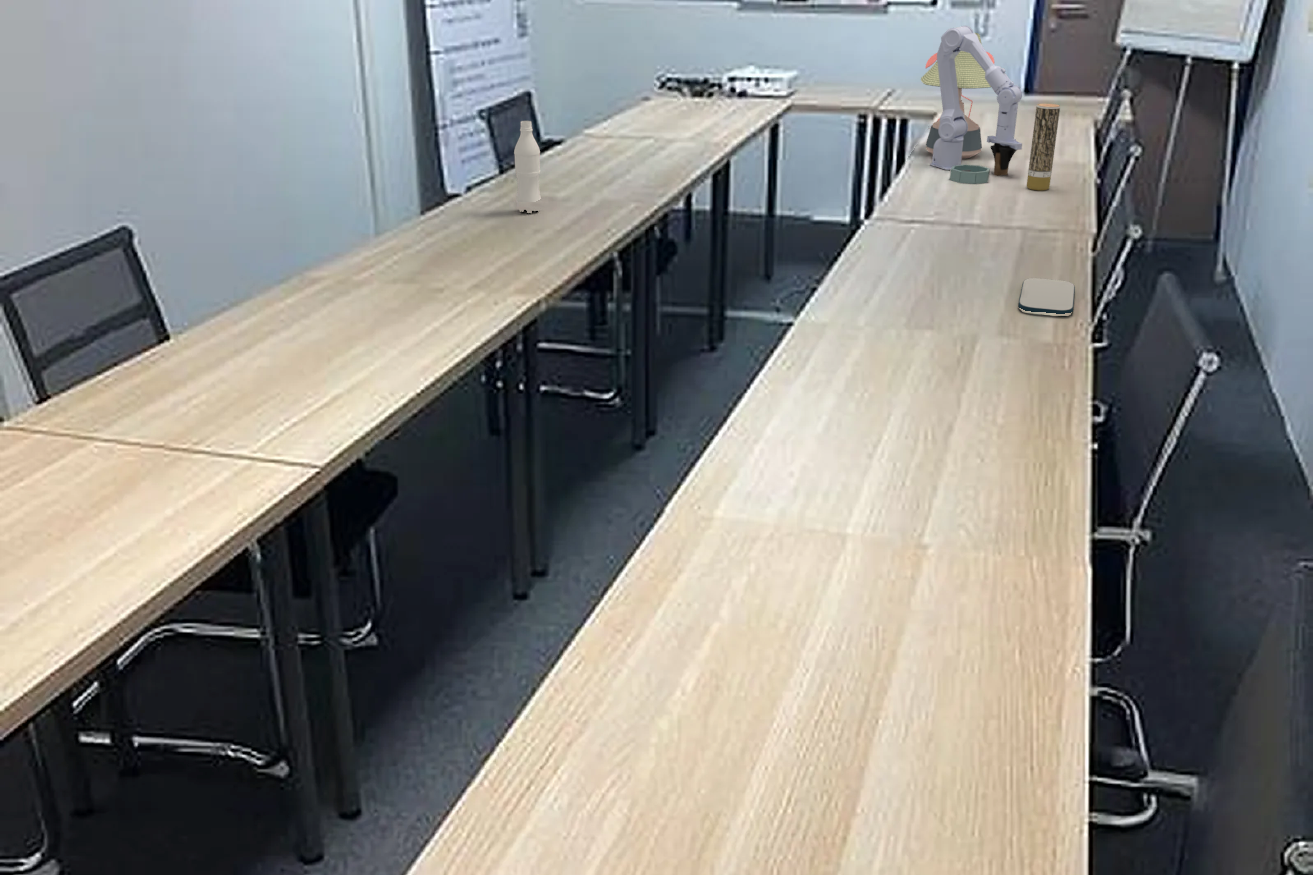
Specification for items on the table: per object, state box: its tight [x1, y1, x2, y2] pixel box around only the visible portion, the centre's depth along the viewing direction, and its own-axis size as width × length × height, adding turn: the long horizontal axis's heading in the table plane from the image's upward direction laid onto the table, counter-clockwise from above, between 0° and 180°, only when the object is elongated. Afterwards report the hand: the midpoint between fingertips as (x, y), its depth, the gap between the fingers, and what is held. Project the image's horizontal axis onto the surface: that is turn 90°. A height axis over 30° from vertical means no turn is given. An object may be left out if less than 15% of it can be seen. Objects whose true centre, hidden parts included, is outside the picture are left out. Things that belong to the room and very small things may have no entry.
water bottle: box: [513, 120, 542, 202], centre depth 346 cm, size 7×7×25 cm
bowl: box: [949, 164, 991, 185], centre depth 391 cm, size 12×12×4 cm
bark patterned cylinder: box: [1026, 103, 1061, 192], centre depth 376 cm, size 7×7×25 cm
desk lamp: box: [920, 32, 992, 160], centre depth 419 cm, size 26×28×42 cm
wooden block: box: [993, 152, 1010, 177], centre depth 398 cm, size 2×4×7 cm, turn 115°
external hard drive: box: [1017, 277, 1076, 314], centre depth 277 cm, size 24×12×2 cm, turn 162°
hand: (1001, 168), depth 398 cm, fingers closed on wooden block, 2 cm apart
